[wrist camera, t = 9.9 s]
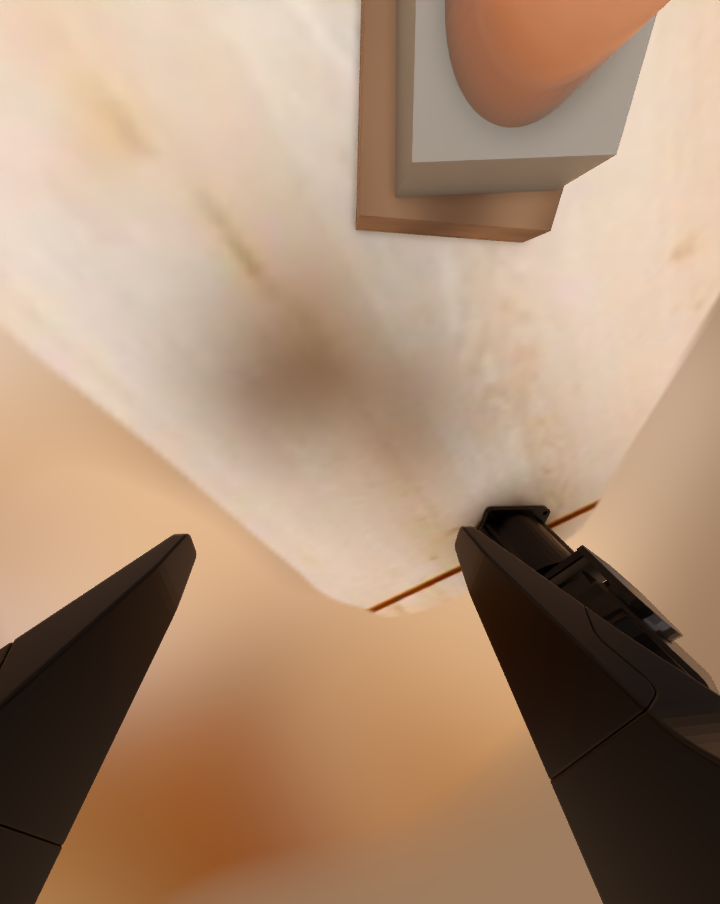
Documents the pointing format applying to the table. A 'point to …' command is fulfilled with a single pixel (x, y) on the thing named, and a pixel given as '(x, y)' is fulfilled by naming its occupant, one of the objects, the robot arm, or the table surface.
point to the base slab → (377, 152)
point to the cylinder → (534, 50)
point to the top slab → (485, 144)
